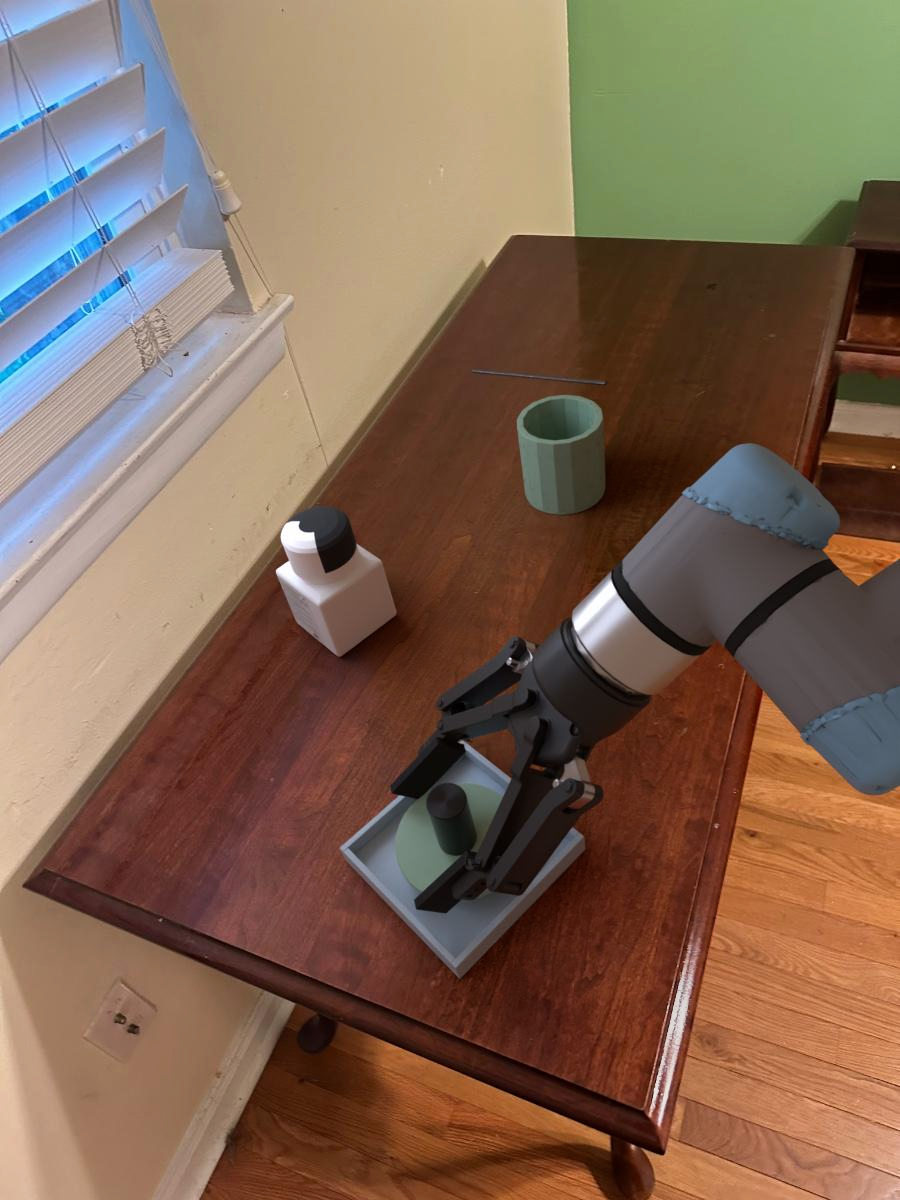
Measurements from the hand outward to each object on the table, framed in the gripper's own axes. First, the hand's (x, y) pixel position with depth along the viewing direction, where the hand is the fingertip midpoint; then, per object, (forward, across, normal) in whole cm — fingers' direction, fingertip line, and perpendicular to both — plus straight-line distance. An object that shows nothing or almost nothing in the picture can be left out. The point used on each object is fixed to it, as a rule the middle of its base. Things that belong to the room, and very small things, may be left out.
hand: (416, 846), depth 65 cm
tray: (0, 0, -4) cm, 4 cm away
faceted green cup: (-15, +40, -20) cm, 47 cm away
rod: (-18, +64, -23) cm, 71 cm away
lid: (-1, 0, -3) cm, 3 cm away
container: (+4, +29, -1) cm, 29 cm away
